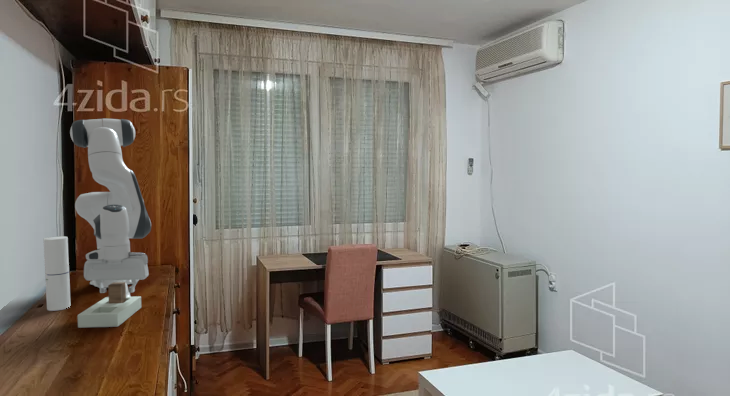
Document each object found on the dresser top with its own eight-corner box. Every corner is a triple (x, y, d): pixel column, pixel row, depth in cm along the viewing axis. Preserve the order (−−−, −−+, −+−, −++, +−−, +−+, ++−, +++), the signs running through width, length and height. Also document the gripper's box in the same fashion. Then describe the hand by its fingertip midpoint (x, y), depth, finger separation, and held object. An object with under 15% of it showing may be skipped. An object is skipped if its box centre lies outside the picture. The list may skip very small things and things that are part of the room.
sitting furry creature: (103, 306, 173) (101, 273, 172) (109, 300, 182) (107, 268, 181) (132, 304, 176) (131, 272, 175) (136, 298, 184) (135, 267, 183)
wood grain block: (114, 310, 169) (113, 282, 168) (126, 310, 169) (125, 282, 168) (109, 314, 165) (108, 285, 164) (121, 313, 165) (120, 285, 164)
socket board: (106, 308, 172) (105, 297, 171) (141, 307, 173) (141, 296, 172) (78, 327, 152) (77, 315, 151) (117, 326, 153) (117, 314, 152)
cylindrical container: (59, 311, 168) (55, 239, 166) (41, 310, 169) (38, 239, 167) (75, 305, 175) (72, 236, 173) (58, 304, 176) (55, 236, 174)
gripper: (150, 250, 170) (151, 289, 171) (89, 251, 168) (91, 290, 169) (144, 254, 163) (145, 294, 164) (80, 254, 162) (82, 295, 163)
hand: (117, 292), depth 167 cm, fingers open, 8 cm apart
